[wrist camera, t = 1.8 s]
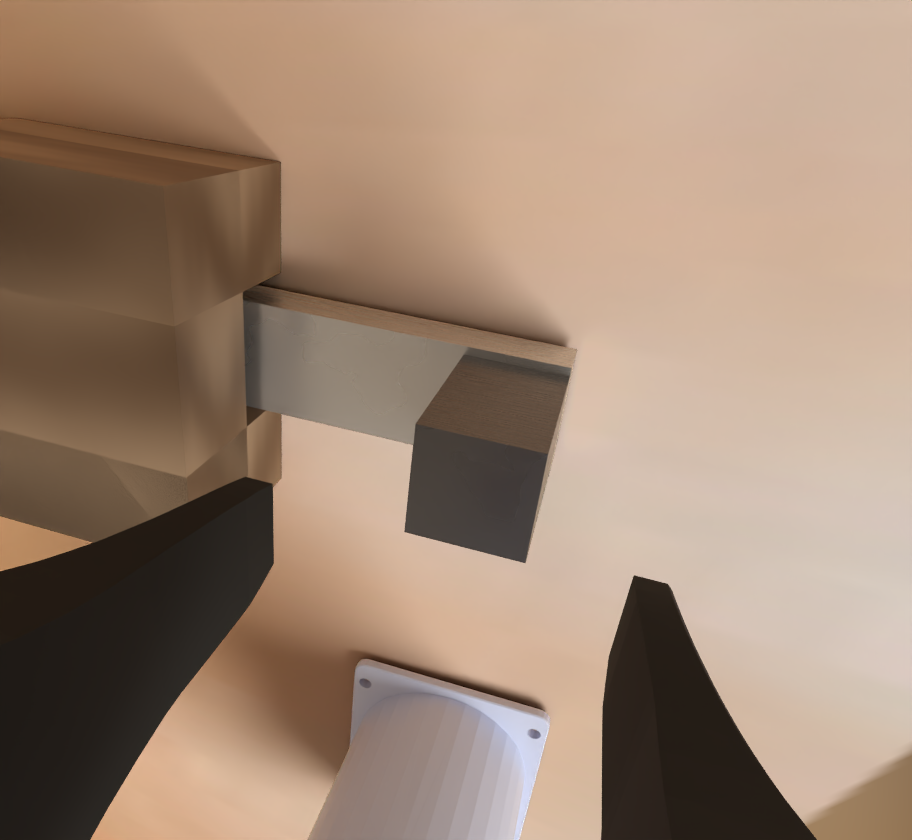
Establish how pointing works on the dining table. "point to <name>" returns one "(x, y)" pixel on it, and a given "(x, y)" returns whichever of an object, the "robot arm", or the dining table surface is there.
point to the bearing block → (127, 325)
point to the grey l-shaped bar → (421, 405)
